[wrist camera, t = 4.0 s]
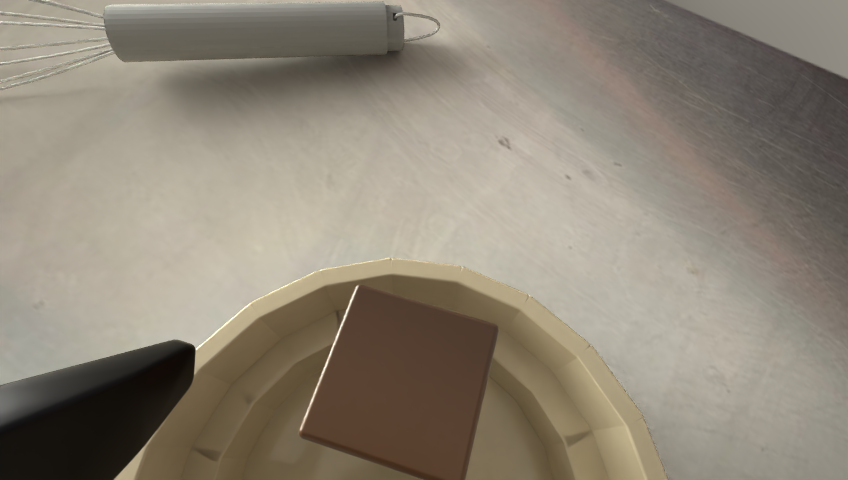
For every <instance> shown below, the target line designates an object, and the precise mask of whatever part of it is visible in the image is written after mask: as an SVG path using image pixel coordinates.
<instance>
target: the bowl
mask: <svg viewBox="0 0 848 480" xmlns="http://www.w3.org/2000/svg"><path fill="white" fill-rule="evenodd" d="M357 285H366V286H369V287H372V288H376V289H379V290H383V291H386V292H389V293H393V294H396V295H399V296H403V297H406V298H410V299H413V300H416V301H420V302H423V303H426V304H430V305H433V306H437V307H440V308H443V309H447V310H450V311H453V312H457V313H460V314H464V315H467V316H470V317H474V318H477V319H480V320H484V321H487V322H491V323H494V324H496V325H497V326H498V329H499V332H498V337H497V341H496V346H495V350H494V355H493V359H492V363H491V368H490V372H489V377H488V381H487V386H486V390H485V394H484V399H483V403H482V408H481V412H480V417H479V421H478V425H477V430H476V434H475V439H474V443H473V448H472V452H471V456H470V461H469V465H468V470H467V474H466V479H465V480H668V478H667V475H666V473H665V470H664V468H663V465H662V463H661V460H660V458H659V455H658V453H657V450H656V447H655V445H654V442H653V440H652V437H651V435H650V432H649V430H648V427H647V424H646V422H645V420H644V418H643V415H642V414H641V412H640V411H639V410H638V408H637V407H636V405H635V404H634V403H633V401H632V400H631V399H630V397H629V396H628V394H627V393H626V392H625V390H624V389H623V388H622V386H621V385H620V383H619V382H618V381H617V379H616V378H615V376H614V375H613V374H612V372H611V371H610V370H609V368H608V367H607V365H606V364H605V363H604V361H603V360H602V359H601V357H600V356H599V354H598V353H597V352H596V350H595V349H594V347H593V346H590V344H589V343H588V342H587V341H586V340H585V339H583V338H582V337H581V336H580V335H578V334H577V333H576V332H575V331H573V330H572V329H571V328H570V327H568V326H567V325H566V324H565V323H564V322H562V321H561V320H560V319H559V318H557V317H556V316H555V315H554V314H552V313H551V312H550V311H549V310H547V309H546V308H545V307H544V306H543V305H541V304H540V303H539V302H538V301H536V300H535V299H534V298H533V297H531V296H529V295H528V294H526V293H524V292H521V291H519V290H517V289H514V288H512V287H510V286H507V285H505V284H503V283H500V282H498V281H496V280H493V279H491V278H489V277H486V276H484V275H482V274H479V273H477V272H475V271H472V270H470V269H468V268H465V267H461V266H456V265H448V264H440V263H431V262H423V261H414V260H406V259H397V258H392V259H391V258H386V259H380V260H374V261H368V262H362V263H357V264H351V265H345V266H339V267H333V268H327V269H322V270H318V271H316V272H314V273H312V274H309V275H307V276H305V277H303V278H301V279H299V280H297V281H295V282H293V283H291V284H288V285H286V286H284V287H282V288H280V289H278V290H276V291H274V292H272V293H270V294H267V295H265V296H263V297H261V298H259V299H257V300H255V301H253V302H251V304H248V305H247V306H246V307H245V308H244V309H242V310H241V311H240V312H239V313H238V314H237V315H235V316H234V317H233V318H232V319H231V320H230V321H228V322H227V323H226V324H225V325H224V326H223V327H221V328H220V329H219V330H218V331H217V332H215V333H214V334H213V335H212V336H211V337H210V338H208V339H207V340H206V341H205V342H204V343H203V344H201V345H200V346H199V347H198V348H197V349H196V355H195V370H194V379H193V382H192V385H191V386H190V388H189V390H188V391H187V392H186V394H185V395H184V396H183V397H182V399H181V400H180V401H179V403H178V404H177V405H176V406H175V408H174V409H173V410H172V411H171V413H170V414H169V415H168V417H167V418H166V419H165V420H164V422H163V423H162V424H161V426H160V427H159V428H158V429H157V431H156V432H155V433H154V434H153V436H152V437H151V438H150V440H149V441H148V442H147V443H146V445H145V446H144V447H143V448H142V449H141V451H140V452H139V453H138V454H137V455H136V456H135V457H134V459H133V460H132V461H131V462H130V463H129V464H128V465H127V466H126V467H125V468H124V469H123V470H122V471H121V473H120V474H119V475H118V476H117V477H116V478H115V479H114V480H423V479H420V478H417V477H414V476H411V475H408V474H405V473H402V472H399V471H396V470H393V469H390V468H387V467H384V466H381V465H379V464H376V463H373V462H370V461H367V460H364V459H361V458H358V457H355V456H352V455H349V454H346V453H343V452H340V451H337V450H334V449H331V448H329V447H326V446H323V445H320V444H317V443H314V442H311V441H308V440H305V439H302V438H301V437H300V436H299V428H300V426H301V423H302V421H303V418H304V416H305V413H306V411H307V408H308V405H309V403H310V400H311V398H312V395H313V393H314V390H315V388H316V385H317V383H318V380H319V378H320V375H321V373H322V370H323V368H324V365H325V363H326V360H327V357H328V355H329V352H330V350H331V347H332V345H333V342H334V340H335V337H336V335H337V332H338V330H339V327H340V325H341V322H342V320H343V317H344V314H345V312H346V309H347V307H348V304H349V302H350V299H351V297H352V294H353V292H354V289H355V287H356V286H357Z"/></svg>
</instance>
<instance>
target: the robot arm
mask: <svg viewBox="0 0 848 480" xmlns="http://www.w3.org/2000/svg"><path fill="white" fill-rule="evenodd" d="M195 355H196V349H195V347H194V346H193V345H192V344H190V343H187V342H184V341H180V340H171V341H167V342H163V343H159V344H155V345H152V346H148V347H144V348H140V349H136V350H133V351H129V352H125V353H121V354H117V355H114V356H110V357H106V358H102V359H98V360H95V361H91V362H87V363H83V364H79V365H75V366H72V367H68V368H64V369H60V370H56V371H53V372H49V373H45V374H41V375H37V376H34V377H30V378H26V379H22V380H18V381H15V382H11V383H7V384H3V385H0V480H114V479H115V478H116V477H117V476H118V475H119V474H120V473H121V471H122V470H123V469H124V468H125V467H126V466H127V465H128V464H129V463H130V462H131V461H132V460H133V459H134V457H135V456H136V455H137V454H138V453H139V452H140V451H141V449H142V448H143V447H144V446H145V445H146V443H147V442H148V441H149V440H150V438H151V437H152V436H153V434H154V433H155V432H156V431H157V429H158V428H159V427H160V426H161V424H162V423H163V422H164V420H165V419H166V418H167V417H168V415H169V414H170V413H171V411H172V410H173V409H174V408H175V406H176V405H177V404H178V403H179V401H180V400H181V399H182V397H183V396H184V395H185V394H186V392H187V391H188V390H189V388H190V386H191V385H192V382H193V379H194V370H195Z"/></svg>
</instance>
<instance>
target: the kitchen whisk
mask: <svg viewBox="0 0 848 480" xmlns="http://www.w3.org/2000/svg"><path fill="white" fill-rule="evenodd" d="M29 1H34V2H38V3H43V4H47V5H52V6H56V7H60V8H64V9H68V10H72V11H76V12H80V13H84V14H88V15H91V16H95V17H99V18H103V19H104V24H98V23H91V22H83V21H75V20H68V19H60V18H51V17H43V16H35V15H26V14H17V13H8V12H0V15H7V16H17V17H26V18H34V19H43V20H51V21H60V22H68V23H76V24H84V25H92V26H99V27H91V26H75V25H60V24H42V23H22V22H0V24H7V25H30V26H48V27H65V28H80V29H95V30H105V31H106V34H107V37H106V38H96V39H87V40H77V41H66V42H56V43H45V44H35V45H24V46H12V47H1V48H0V51H3V50H14V49H25V48H36V47H46V46H56V45H66V44H77V43H87V42H96V41H105V40H109V44H104V45H99V46H95V47H90V48H85V49H80V50H75V51H70V52H64V53H58V54H53V55H47V56H42V57H35V58H29V59H22V60H15V61H9V62H1V63H0V65H7V64H14V63H20V62H27V61H34V60H40V59H46V58H52V57H57V56H63V55H69V54H74V53H79V52H84V51H89V50H94V49H99V48H103V47H108V46H111V47H112V48H110V49H107V50H104V51H101V52H98V53H95V54H91V55H88V56H85V57H82V58H79V59H75V60H72V61H69V62H65V63H62V64H58V65H55V66H52V67H48V68H44V69H41V70H37V71H33V72H30V73H26V74H22V75H18V76H15V77H11V78H7V79H3V80H0V83H3V82H8V81H12V80H15V79H19V78H23V77H27V76H30V75H34V74H38V73H41V72H45V71H49V70H52V69H56V68H59V67H63V66H66V65H69V64H73V63H76V62H79V61H83V60H86V59H89V58H92V57H95V56H98V55H101V56H99V57H96V58H94V59H91V60H88V61H85V62H83V63H80V64H77V65H74V66H71V67H68V68H66V69H63V70H59V71H56V72H53V73H50V74H47V75H44V76H41V77H37V78H34V79H31V80H27V81H23V82H20V83H16V84H12V85H9V86H5V87H1V88H0V91H1V90H5V89H8V88H12V87H16V86H20V85H23V84H27V83H31V82H34V81H37V80H41V79H44V78H47V77H50V76H53V75H56V74H60V73H63V72H66V71H69V70H72V69H74V68H77V67H80V66H83V65H86V64H88V63H91V62H94V61H97V60H99V59H102V58H104V57H107V56H109V55H112V54H116V55H117V56H118V58H119V59H120V60H122V61H124V62H143V61H176V60H210V59H243V58H277V57H310V56H344V55H377V54H387V51H395V50H403V47H404V42H407V41H413V40H418V39H422V38H426V37H429V36H431V35H433V34H435V33H436V32H437V31H438V30H439V28H440V23H439V22H438V21H437V20H436V19H434V18H432V17H429V16H425V15H420V14H414V13H407V12H403V11H402V7H401V5H385V3H384V2H304V3H218V4H131V5H107V6H106V7H105V10H104V16H103V15H100V14H96V13H93V12H89V11H85V10H82V9H78V8H74V7H71V6H67V5H63V4H59V3H55V2H51V1H47V0H29ZM403 15H409V16H416V17H421V18H426V19H430V20H432V21H434V22H436V23H437V25H438V27H437V29H436V30H435V31H434V32H432V33H430V34H427V35H424V36H420V37H415V38H410V39H404V19H403ZM104 27H105V28H104ZM111 51H112V52H111ZM108 52H109V53H108ZM105 53H106V54H105ZM102 54H104V55H102Z"/></svg>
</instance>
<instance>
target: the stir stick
mask: <svg viewBox="0 0 848 480" xmlns="http://www.w3.org/2000/svg"><path fill="white" fill-rule="evenodd" d="M498 332H499V329H498V326H497V325H496V324H494V323H491V322H487V321H484V320H480V319H477V318H474V317H470V316H467V315H464V314H460V313H457V312H453V311H450V310H447V309H443V308H440V307H437V306H433V305H430V304H426V303H423V302H420V301H416V300H413V299H410V298H406V297H403V296H399V295H396V294H393V293H389V292H386V291H383V290H379V289H376V288H372V287H369V286H366V285H357V286H356V287H355V289H354V292H353V294H352V297H351V299H350V302H349V304H348V307H347V309H346V312H345V314H344V317H343V320H342V322H341V325H340V327H339V330H338V332H337V335H336V337H335V340H334V342H333V345H332V347H331V350H330V352H329V355H328V357H327V360H326V363H325V365H324V368H323V370H322V373H321V375H320V378H319V380H318V383H317V385H316V388H315V390H314V393H313V395H312V398H311V400H310V403H309V405H308V408H307V411H306V413H305V416H304V418H303V421H302V423H301V426H300V428H299V436H300V437H301V438H302V439H305V440H308V441H311V442H314V443H317V444H320V445H323V446H326V447H329V448H331V449H334V450H337V451H340V452H343V453H346V454H349V455H352V456H355V457H358V458H361V459H364V460H367V461H370V462H373V463H376V464H379V465H381V466H384V467H387V468H390V469H393V470H396V471H399V472H402V473H405V474H408V475H411V476H414V477H417V478H420V479H423V480H465V479H466V474H467V470H468V465H469V461H470V456H471V452H472V448H473V443H474V439H475V434H476V430H477V425H478V421H479V417H480V412H481V408H482V403H483V399H484V394H485V390H486V386H487V381H488V377H489V372H490V368H491V363H492V359H493V355H494V350H495V346H496V341H497V337H498Z"/></svg>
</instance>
